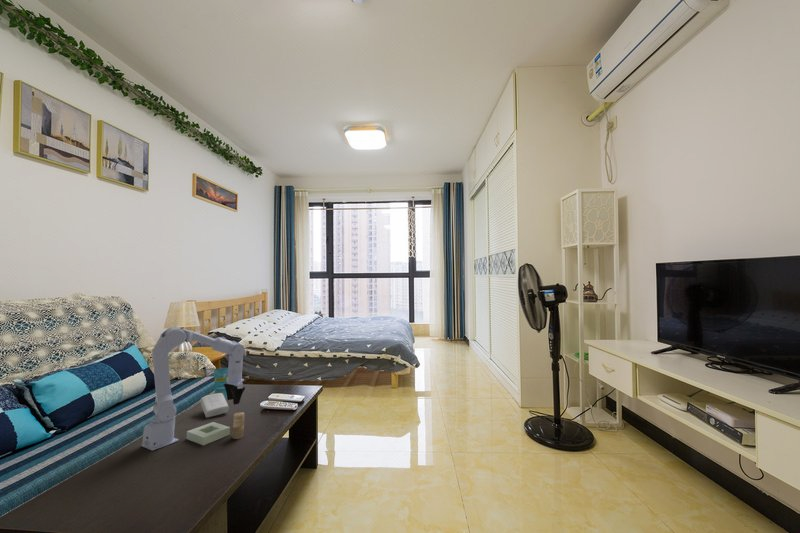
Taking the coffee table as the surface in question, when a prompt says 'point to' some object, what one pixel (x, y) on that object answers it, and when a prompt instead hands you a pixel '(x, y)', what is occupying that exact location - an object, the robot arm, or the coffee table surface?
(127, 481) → the coffee table surface
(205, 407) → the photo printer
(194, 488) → the coffee table surface
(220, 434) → the socket
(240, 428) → the peg
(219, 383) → the tube
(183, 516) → the coffee table surface
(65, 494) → the coffee table surface
